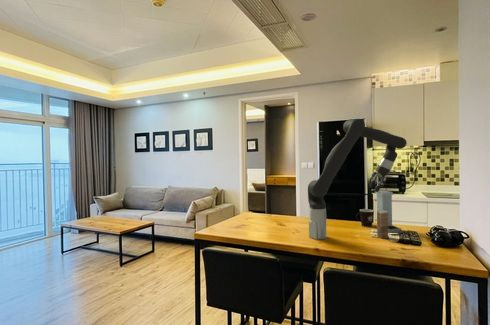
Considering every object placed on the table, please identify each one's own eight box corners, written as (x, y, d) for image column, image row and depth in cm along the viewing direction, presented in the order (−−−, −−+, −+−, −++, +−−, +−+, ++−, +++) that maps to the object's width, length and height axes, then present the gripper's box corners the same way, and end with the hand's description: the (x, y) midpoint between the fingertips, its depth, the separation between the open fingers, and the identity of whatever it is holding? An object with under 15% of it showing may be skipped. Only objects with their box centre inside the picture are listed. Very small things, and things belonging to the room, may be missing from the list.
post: (393, 230, 164) (392, 192, 163) (382, 231, 163) (382, 192, 162) (386, 227, 171) (385, 190, 170) (376, 228, 170) (375, 191, 169)
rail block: (388, 238, 150) (387, 211, 150) (381, 238, 150) (381, 212, 150) (383, 235, 154) (383, 210, 154) (377, 236, 154) (376, 210, 153)
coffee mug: (372, 223, 180) (372, 209, 179) (375, 227, 171) (375, 212, 171) (354, 223, 182) (353, 208, 182) (356, 226, 174) (355, 211, 174)
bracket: (401, 233, 157) (401, 228, 157) (390, 234, 156) (390, 229, 156) (393, 230, 164) (392, 225, 164) (382, 230, 164) (382, 226, 163)
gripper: (374, 161, 174) (363, 184, 178) (384, 167, 160) (372, 191, 164) (385, 165, 174) (374, 188, 178) (395, 171, 160) (383, 195, 164)
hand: (373, 189), depth 171 cm, fingers open, 8 cm apart
